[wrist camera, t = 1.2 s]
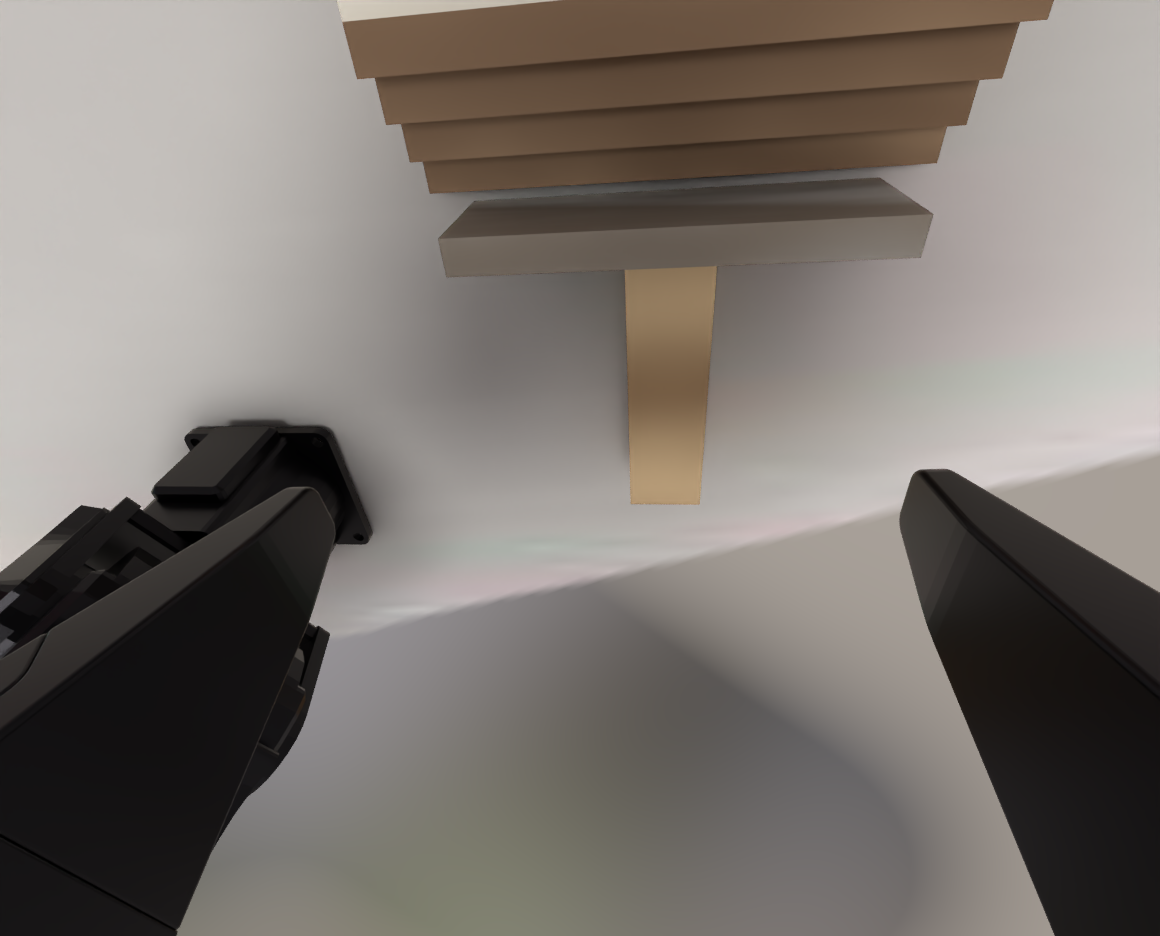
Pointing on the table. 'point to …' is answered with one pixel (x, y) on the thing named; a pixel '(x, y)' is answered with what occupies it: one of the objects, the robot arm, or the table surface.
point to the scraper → (680, 280)
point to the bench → (674, 83)
